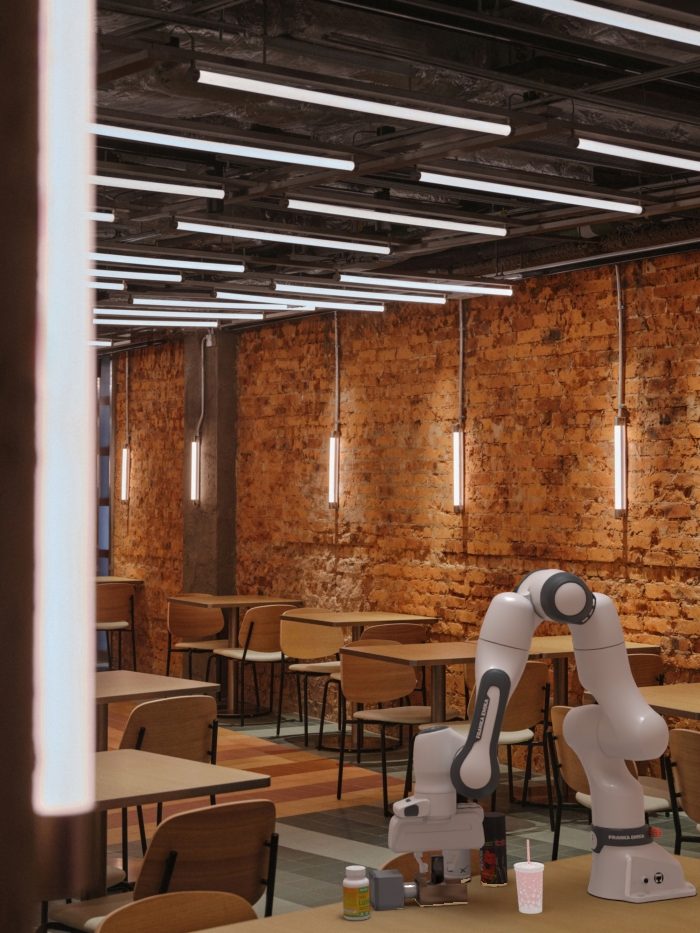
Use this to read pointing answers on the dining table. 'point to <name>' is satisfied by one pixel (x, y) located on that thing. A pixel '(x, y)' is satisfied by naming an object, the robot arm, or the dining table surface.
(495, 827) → the deodorant
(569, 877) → the dining table surface
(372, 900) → the socket block
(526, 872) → the beverage cup
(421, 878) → the guide channel
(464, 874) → the travel mug
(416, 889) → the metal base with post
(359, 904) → the supplement bottle
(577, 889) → the dining table surface
